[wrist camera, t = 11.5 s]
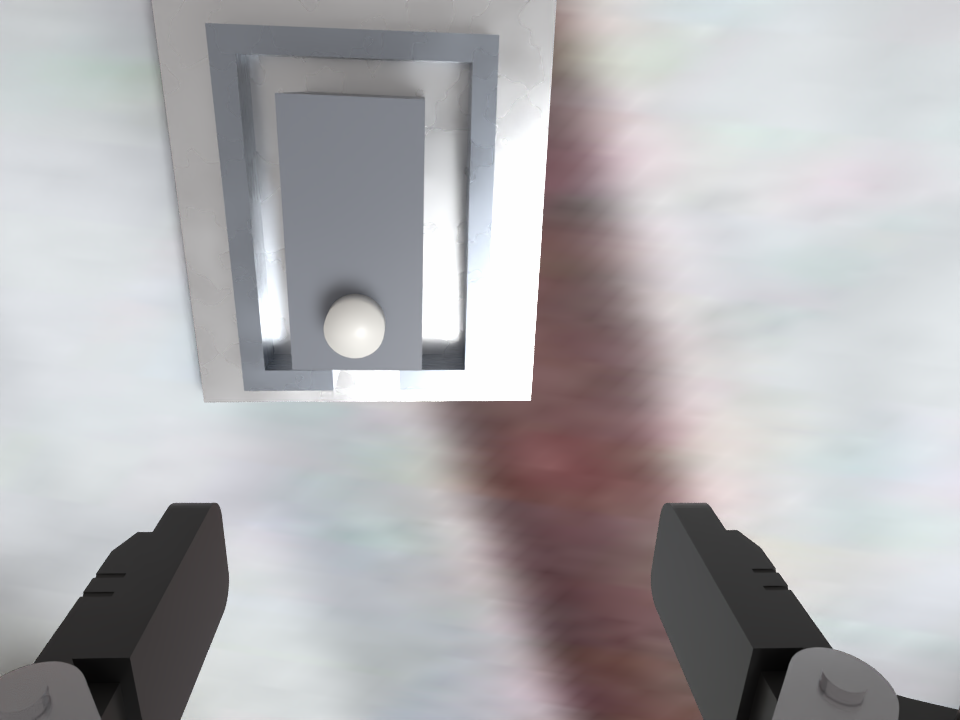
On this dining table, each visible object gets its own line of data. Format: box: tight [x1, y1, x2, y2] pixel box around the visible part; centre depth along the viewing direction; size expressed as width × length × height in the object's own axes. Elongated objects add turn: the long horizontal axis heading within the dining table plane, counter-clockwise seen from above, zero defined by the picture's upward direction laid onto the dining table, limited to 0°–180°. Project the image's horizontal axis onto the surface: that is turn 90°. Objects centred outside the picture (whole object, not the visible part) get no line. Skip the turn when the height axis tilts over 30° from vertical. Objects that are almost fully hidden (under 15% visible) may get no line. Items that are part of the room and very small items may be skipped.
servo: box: [275, 92, 425, 371], centre depth 27 cm, size 5×10×7 cm, turn 178°
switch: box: [151, 0, 557, 402], centre depth 30 cm, size 16×18×3 cm
